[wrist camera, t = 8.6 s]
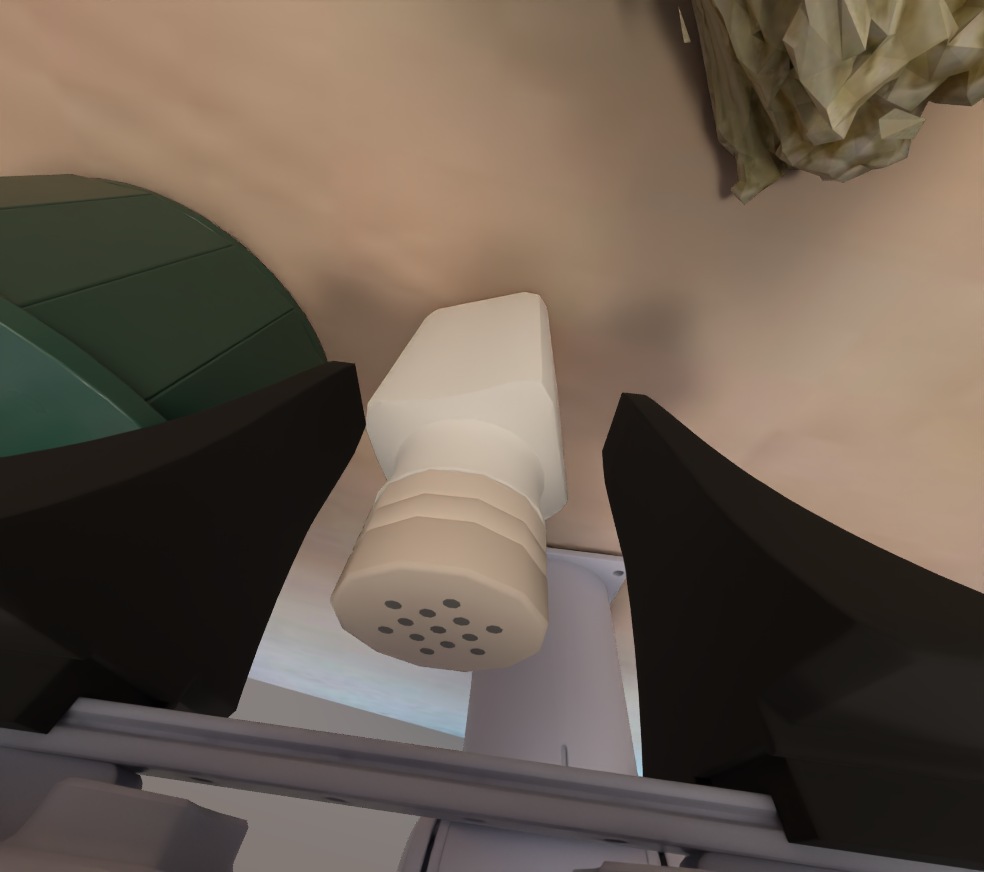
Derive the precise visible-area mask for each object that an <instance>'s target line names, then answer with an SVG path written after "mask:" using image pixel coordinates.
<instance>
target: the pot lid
mask: <svg viewBox="0 0 984 872" xmlns="http://www.w3.org/2000/svg"><path fill="white" fill-rule="evenodd" d="M164 422H167V420H166V419H165V418H164V417H163V416H162V415H161V414H160V413H159V412H158V411H156V410H155V409H154V408H153V407H152V406H151V405H150V404H149V403H148V402H146V401H145V400H144V399H143V398H142V397H141V396H140V395H139V394H138V393H136V392H135V391H134V390H133V389H132V388H131V387H130V386H129V385H127V384H126V383H125V382H124V381H122V380H121V379H120V378H118V377H117V376H116V375H115V374H113V373H112V372H111V371H110V370H108V369H107V368H106V367H105V366H103V365H102V364H101V363H99V362H98V361H97V360H96V359H94V358H93V357H92V356H91V355H89V354H88V353H87V352H85V351H84V350H83V349H81V348H80V347H78V346H77V345H75V344H74V343H73V342H71V341H70V340H68V339H67V338H65V337H64V336H63V335H61V334H60V333H58V332H57V331H55V330H54V329H52V328H51V327H50V326H48V325H47V324H45V323H44V322H42V321H41V320H40V319H38V318H37V317H35V316H34V315H32V314H30V313H29V312H27V311H25V310H24V309H22V308H21V307H19V306H17V305H16V304H14V303H12V302H11V301H9V300H7V299H6V298H4V297H3V296H1V295H0V457H6V456H12V455H18V454H24V453H29V452H35V451H40V450H46V449H51V448H56V447H61V446H66V445H71V444H76V443H81V442H86V441H91V440H95V439H100V438H104V437H108V436H112V435H116V434H120V433H124V432H128V431H132V430H137V429H141V428H145V427H149V426H153V425H157V424H160V423H164Z"/></svg>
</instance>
